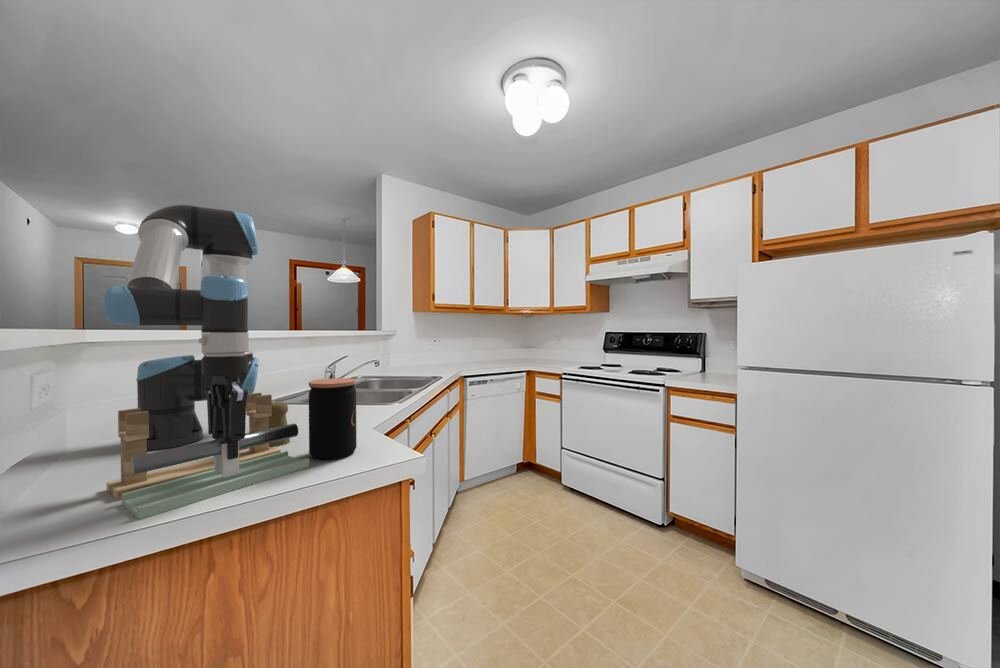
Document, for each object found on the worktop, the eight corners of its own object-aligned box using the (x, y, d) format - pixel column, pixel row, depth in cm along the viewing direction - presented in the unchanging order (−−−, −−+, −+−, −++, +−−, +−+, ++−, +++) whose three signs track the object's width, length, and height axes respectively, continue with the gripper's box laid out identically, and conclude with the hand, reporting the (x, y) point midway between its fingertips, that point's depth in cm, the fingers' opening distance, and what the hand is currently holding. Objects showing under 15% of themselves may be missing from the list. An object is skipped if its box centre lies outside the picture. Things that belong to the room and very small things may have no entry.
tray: (121, 504, 66) (121, 493, 66) (286, 458, 89) (286, 450, 89) (139, 519, 60) (138, 508, 60) (309, 466, 83) (309, 458, 83)
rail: (136, 476, 62) (135, 458, 62) (130, 472, 64) (130, 455, 64) (298, 437, 85) (298, 424, 85) (291, 435, 87) (291, 422, 87)
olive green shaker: (278, 447, 98) (277, 405, 98) (258, 445, 99) (258, 404, 99) (295, 440, 104) (295, 400, 103) (276, 439, 105) (276, 400, 105)
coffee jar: (361, 455, 91) (360, 381, 90) (312, 464, 85) (311, 385, 84) (351, 444, 99) (350, 377, 99) (306, 452, 93) (305, 380, 93)
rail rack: (106, 490, 71) (105, 411, 71) (264, 450, 95) (264, 391, 95) (117, 500, 67) (116, 416, 67) (280, 456, 90) (280, 394, 90)
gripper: (186, 354, 76) (188, 470, 76) (220, 357, 67) (221, 488, 67) (229, 352, 82) (230, 459, 82) (265, 354, 73) (266, 475, 73)
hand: (226, 472), depth 75 cm, fingers closed on rail, 3 cm apart
